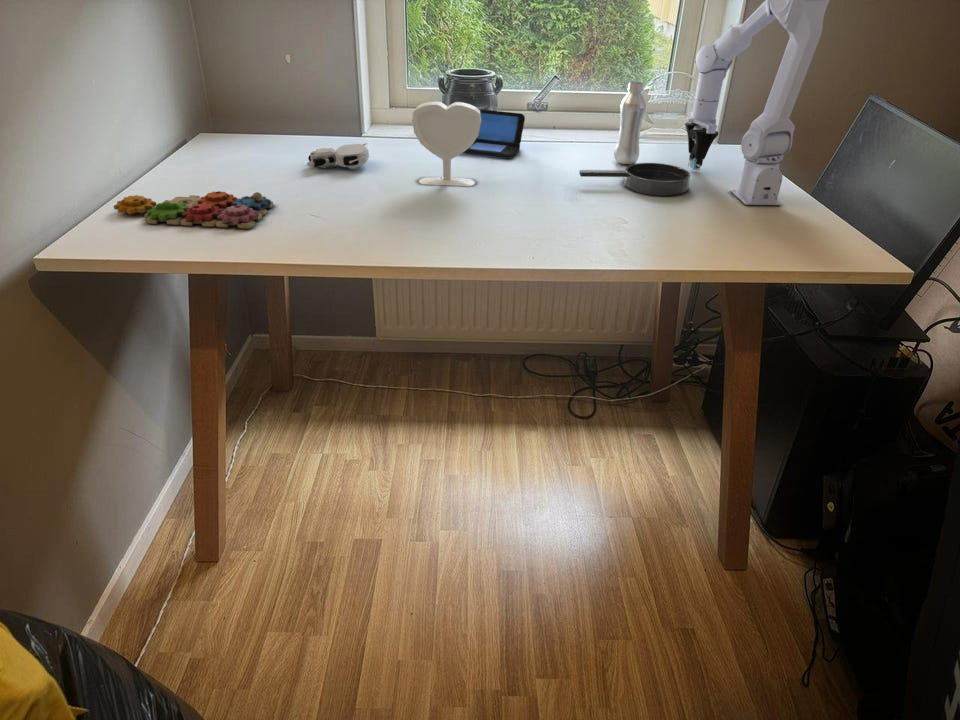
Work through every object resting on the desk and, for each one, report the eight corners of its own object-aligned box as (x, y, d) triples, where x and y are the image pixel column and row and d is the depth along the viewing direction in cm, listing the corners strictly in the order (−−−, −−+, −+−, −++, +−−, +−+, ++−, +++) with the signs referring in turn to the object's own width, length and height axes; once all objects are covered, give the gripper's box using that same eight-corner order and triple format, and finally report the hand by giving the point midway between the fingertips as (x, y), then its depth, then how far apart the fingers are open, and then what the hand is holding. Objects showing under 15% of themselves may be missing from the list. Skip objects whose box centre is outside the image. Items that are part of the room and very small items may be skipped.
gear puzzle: (99, 222, 138) (93, 202, 136) (140, 196, 151) (135, 178, 149) (251, 230, 136) (248, 210, 134) (278, 203, 149) (276, 185, 147)
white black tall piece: (708, 172, 173) (717, 132, 167) (687, 172, 173) (695, 132, 167) (701, 163, 178) (709, 124, 173) (680, 163, 178) (688, 124, 173)
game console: (455, 154, 186) (455, 118, 181) (470, 142, 196) (471, 108, 192) (511, 160, 182) (513, 124, 177) (523, 147, 193) (525, 113, 188)
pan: (695, 196, 160) (698, 181, 158) (631, 196, 159) (633, 181, 157) (677, 177, 172) (679, 163, 170) (617, 176, 172) (619, 162, 170)
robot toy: (307, 177, 168) (369, 172, 169) (304, 158, 166) (366, 153, 167) (312, 162, 179) (370, 157, 179) (309, 145, 176) (368, 140, 177)
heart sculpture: (413, 184, 163) (411, 104, 153) (415, 177, 167) (413, 99, 158) (479, 186, 163) (480, 106, 153) (479, 179, 167) (481, 102, 157)
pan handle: (626, 177, 163) (627, 172, 163) (580, 176, 163) (581, 172, 162) (624, 174, 165) (625, 170, 164) (579, 174, 164) (579, 169, 164)
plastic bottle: (636, 160, 184) (647, 80, 174) (639, 167, 178) (650, 85, 168) (612, 159, 185) (621, 79, 174) (613, 166, 179) (624, 84, 168)
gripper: (681, 93, 173) (672, 148, 180) (700, 105, 161) (689, 164, 168) (709, 93, 173) (699, 148, 181) (729, 106, 161) (717, 164, 168)
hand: (696, 155), depth 174 cm, fingers closed on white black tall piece, 5 cm apart
